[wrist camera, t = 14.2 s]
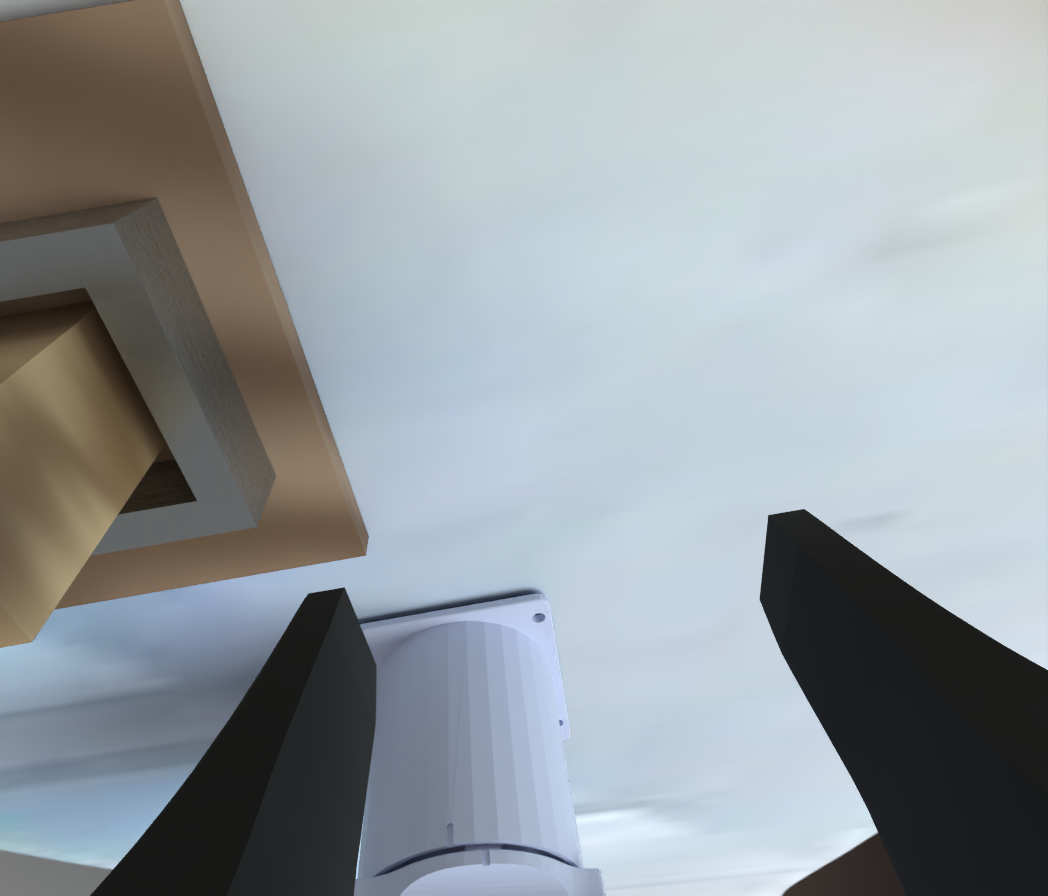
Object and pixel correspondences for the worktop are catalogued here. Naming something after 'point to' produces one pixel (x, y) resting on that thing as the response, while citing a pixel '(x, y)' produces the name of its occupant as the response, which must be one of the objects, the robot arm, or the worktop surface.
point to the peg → (62, 455)
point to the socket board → (166, 298)
